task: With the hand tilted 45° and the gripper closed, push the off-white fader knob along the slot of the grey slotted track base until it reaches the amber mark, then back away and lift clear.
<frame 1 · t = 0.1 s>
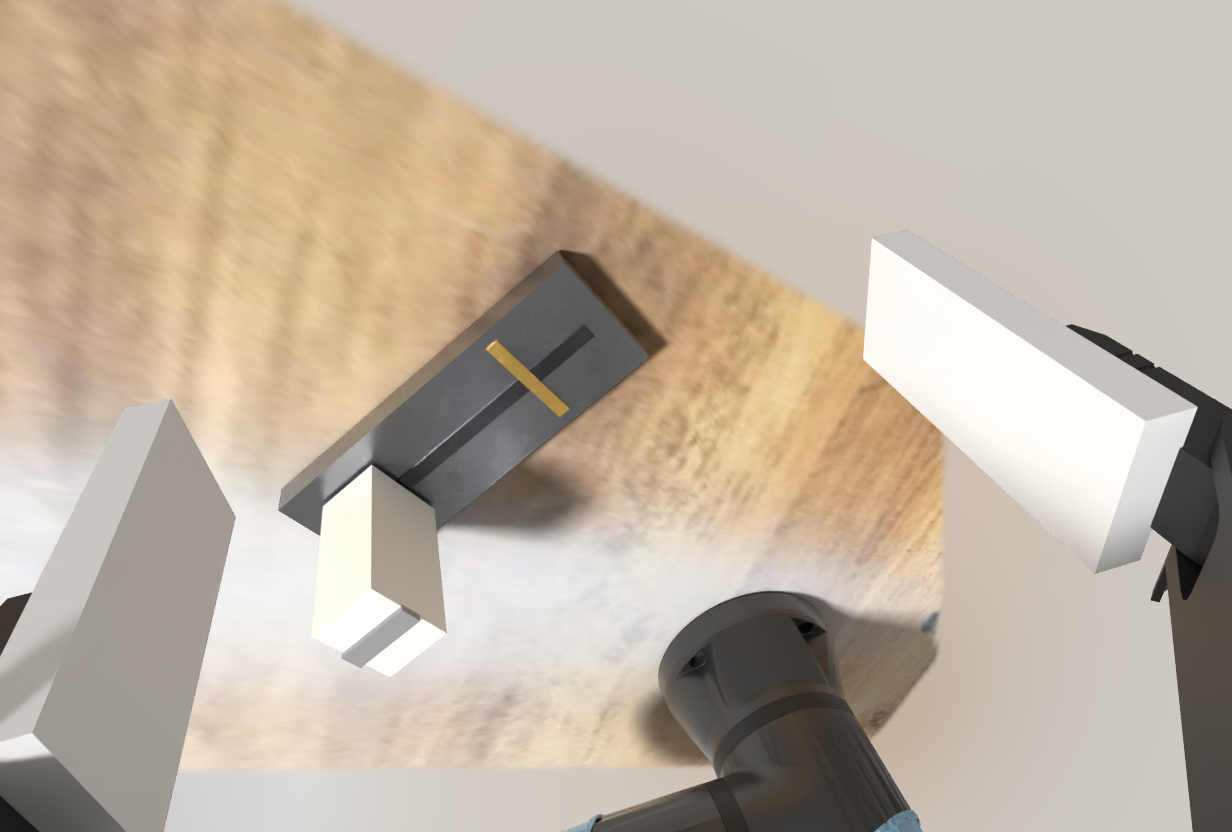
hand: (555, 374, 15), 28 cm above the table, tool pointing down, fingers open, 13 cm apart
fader: (380, 567, 42), point 7 cm above the table, slide at 0.0 cm
grey slotted track base: (462, 414, 47), on the table
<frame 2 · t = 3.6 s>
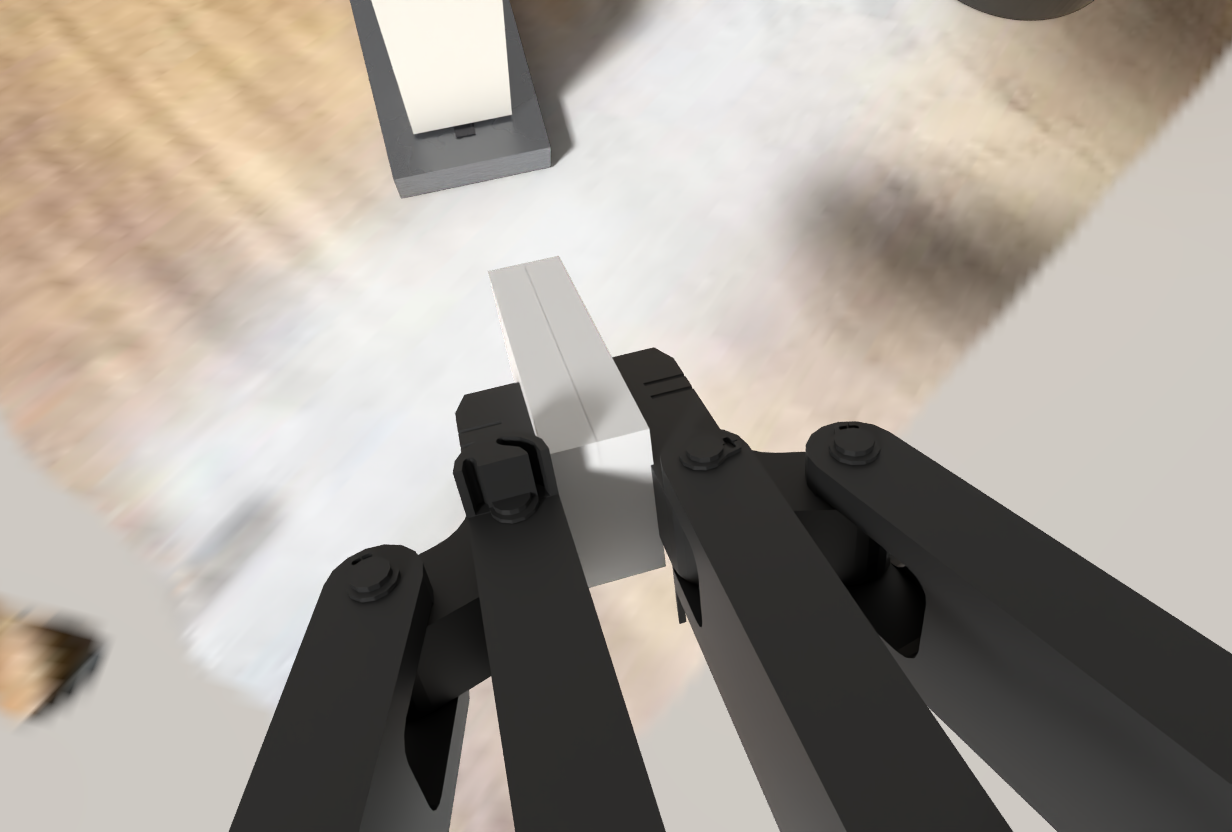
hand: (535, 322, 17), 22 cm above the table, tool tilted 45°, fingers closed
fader: (439, 19, 34), point 7 cm above the table, slide at 0.0 cm
grey slotted track base: (429, 1, 43), on the table
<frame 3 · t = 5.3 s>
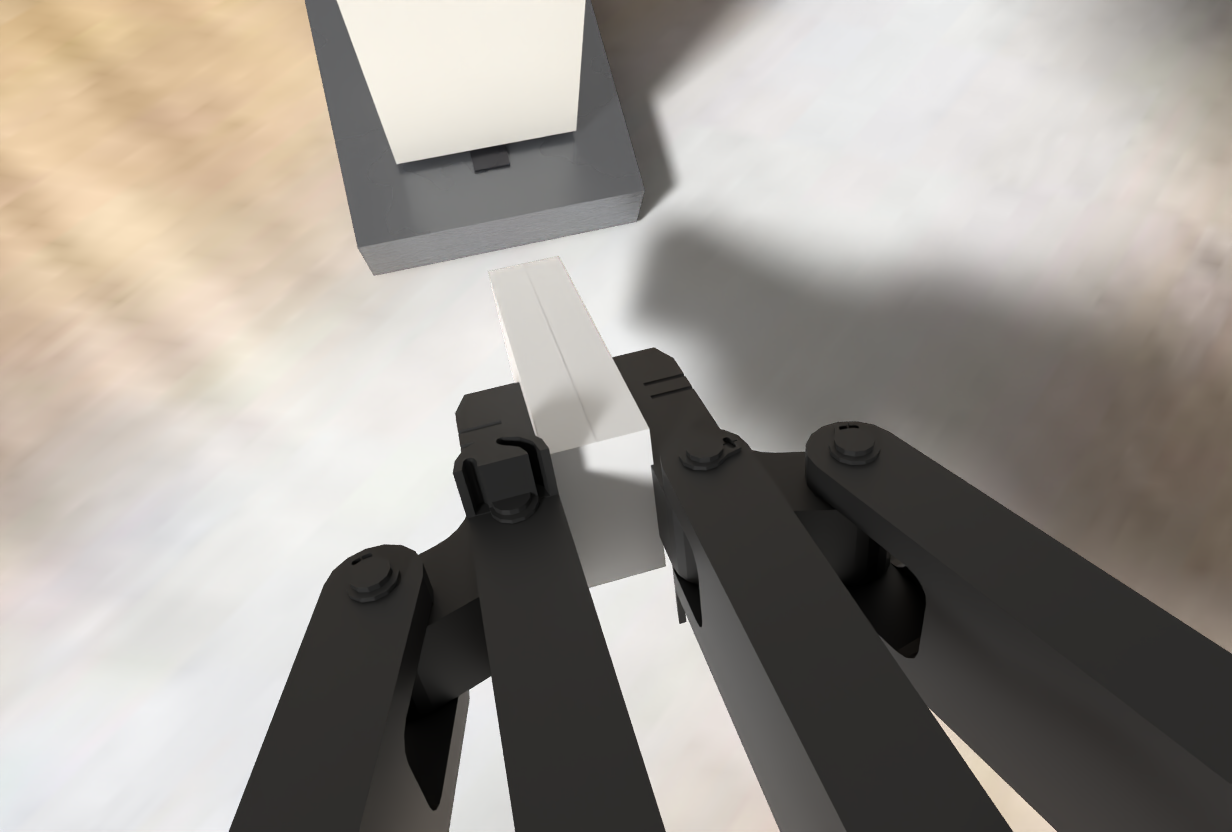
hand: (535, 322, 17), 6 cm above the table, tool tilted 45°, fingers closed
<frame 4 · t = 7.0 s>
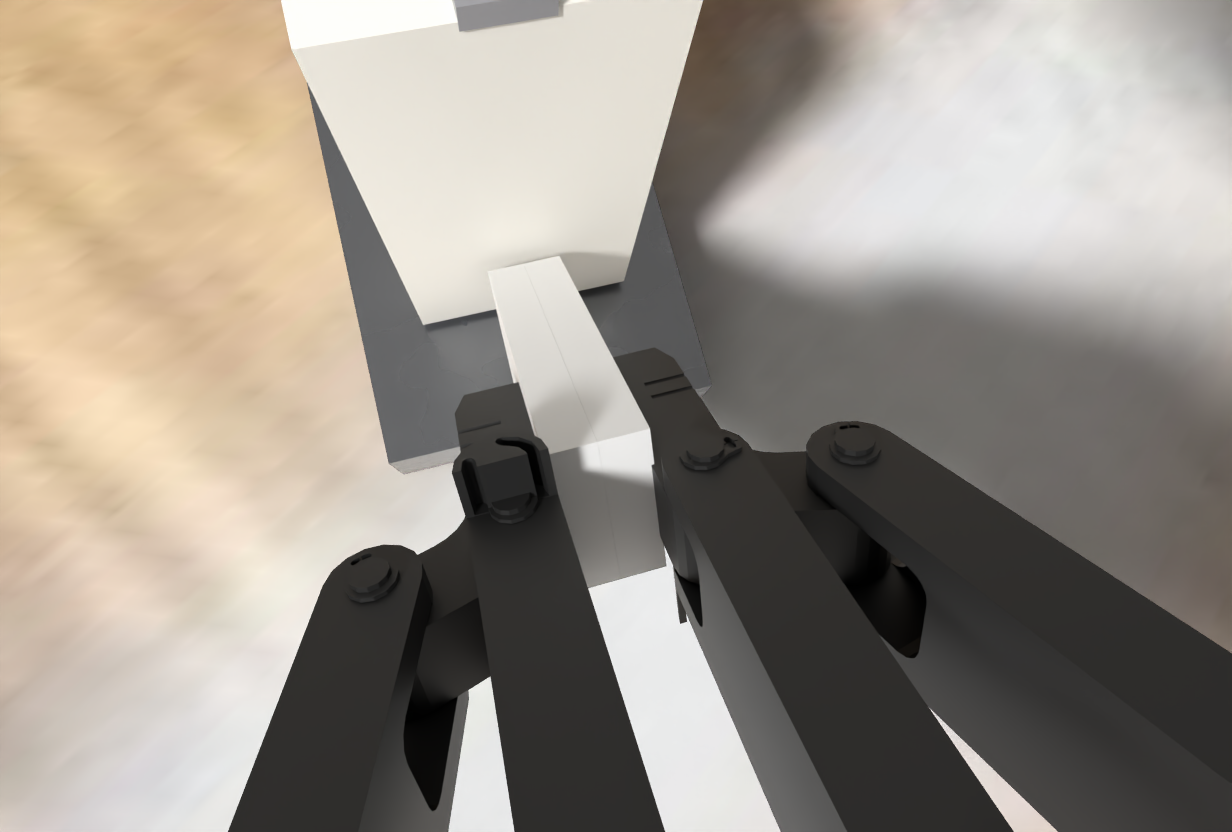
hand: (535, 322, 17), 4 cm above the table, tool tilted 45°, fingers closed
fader: (493, 105, 14), point 7 cm above the table, slide at 1.0 cm, touching gripper
grey slotted track base: (462, 74, 22), on the table
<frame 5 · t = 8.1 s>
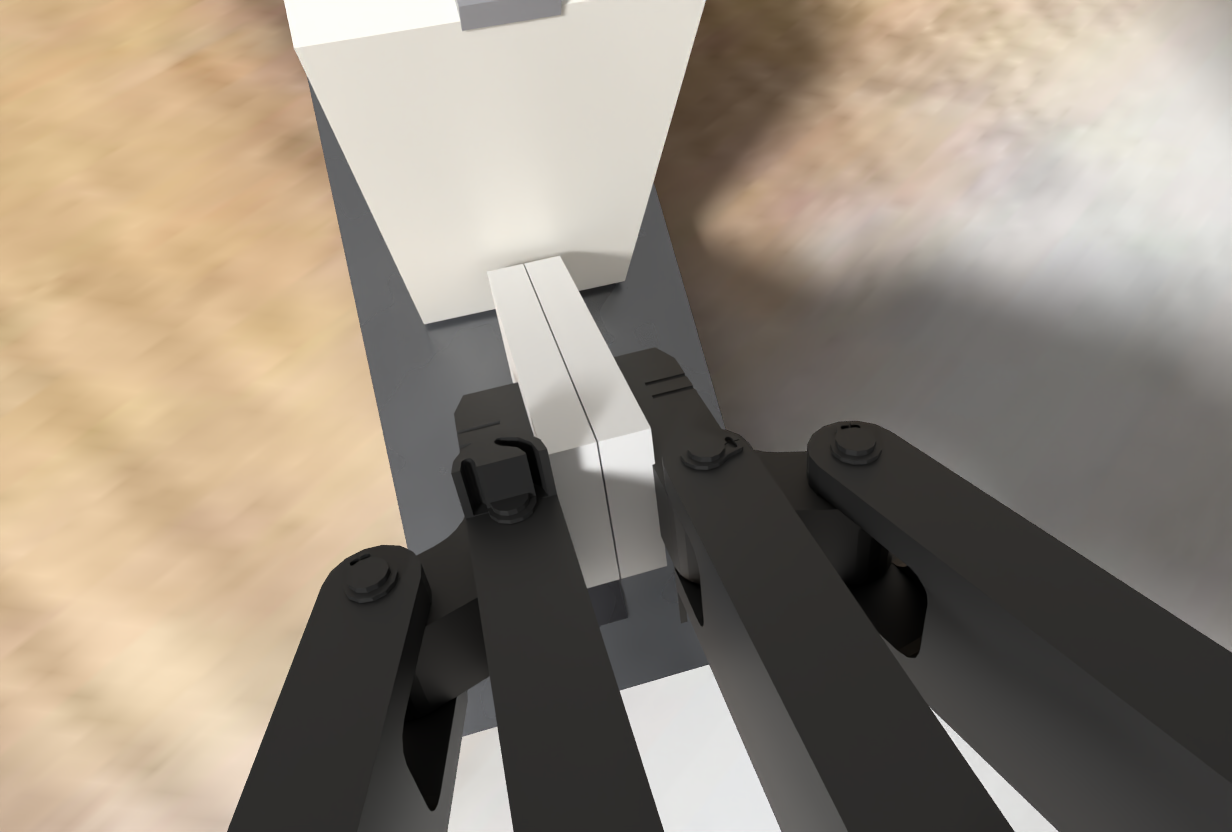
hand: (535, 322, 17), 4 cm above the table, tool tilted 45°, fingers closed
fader: (495, 105, 14), point 7 cm above the table, slide at 7.4 cm, touching gripper
grey slotted track base: (514, 275, 21), on the table
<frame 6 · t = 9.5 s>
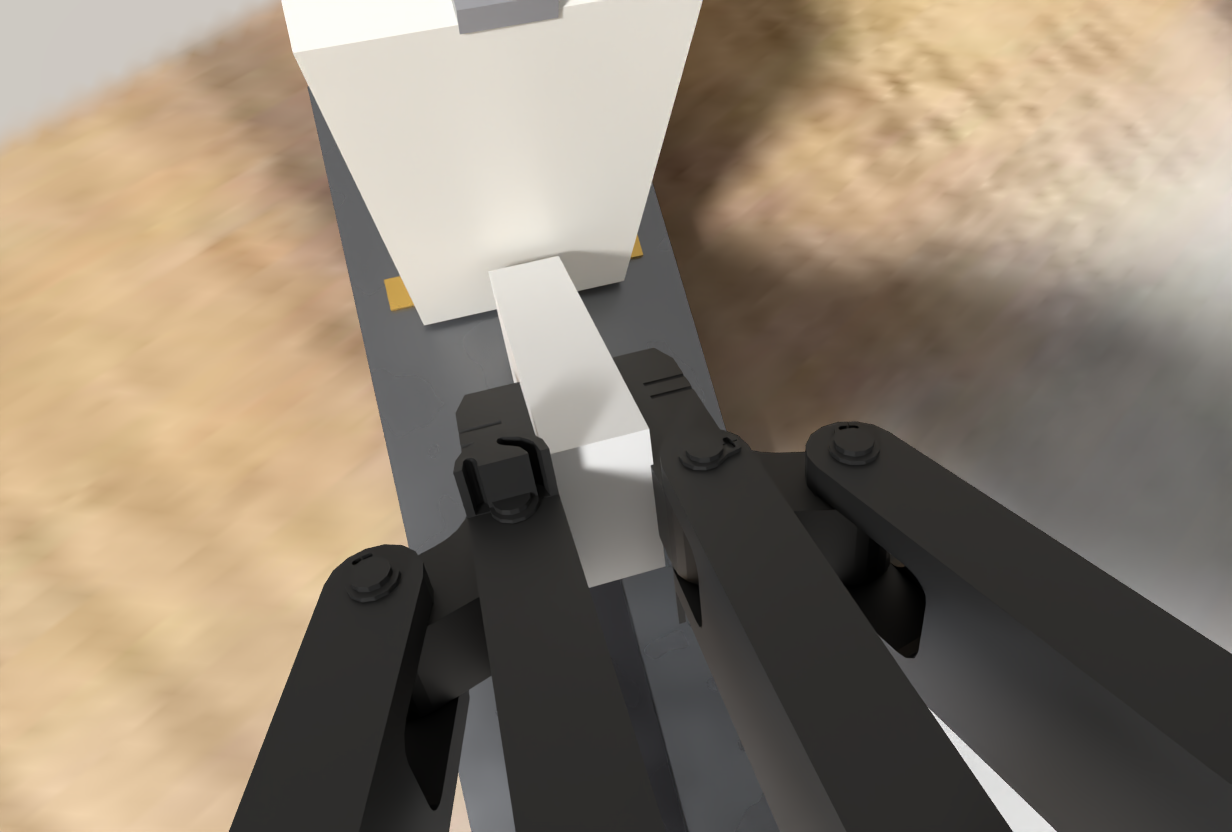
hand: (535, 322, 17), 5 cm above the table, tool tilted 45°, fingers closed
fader: (493, 106, 14), point 7 cm above the table, slide at 13.0 cm, touching gripper
grey slotted track base: (563, 471, 21), on the table
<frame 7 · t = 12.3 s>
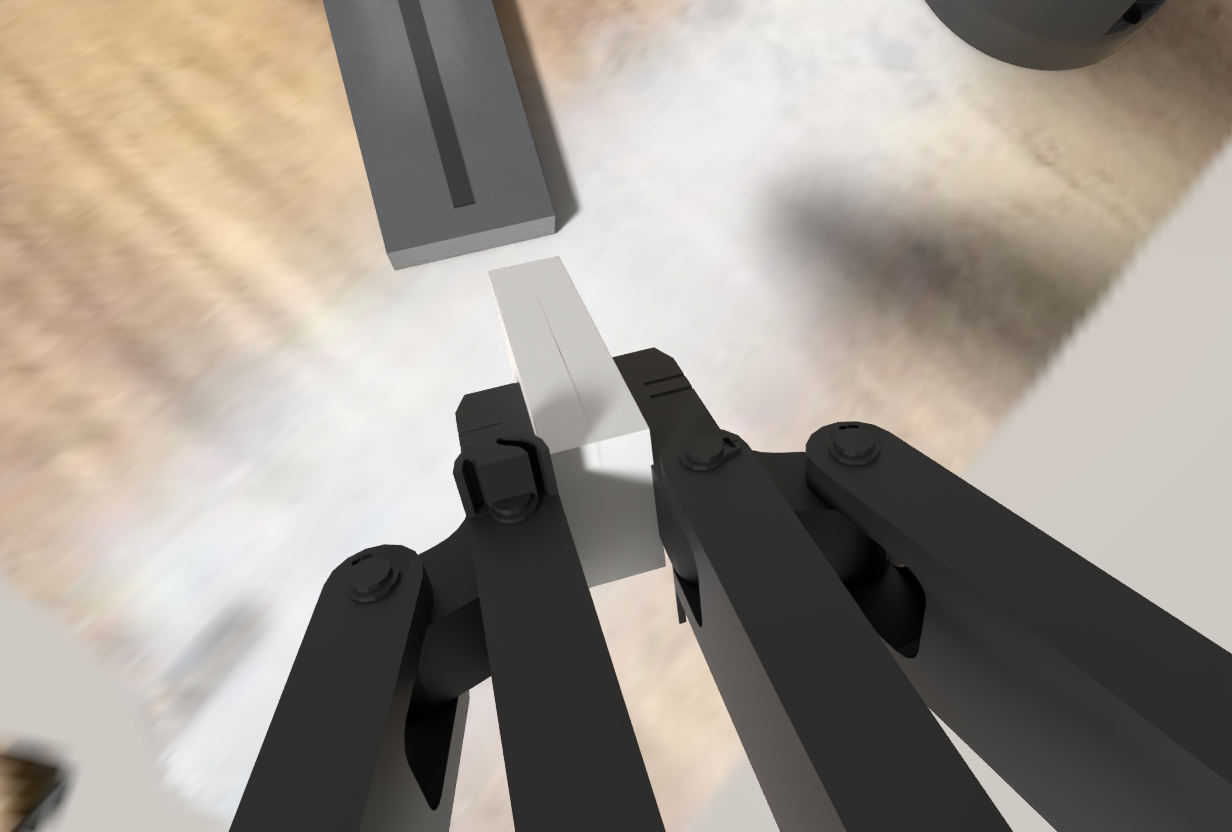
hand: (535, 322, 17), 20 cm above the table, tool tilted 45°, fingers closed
grey slotted track base: (422, 57, 40), on the table
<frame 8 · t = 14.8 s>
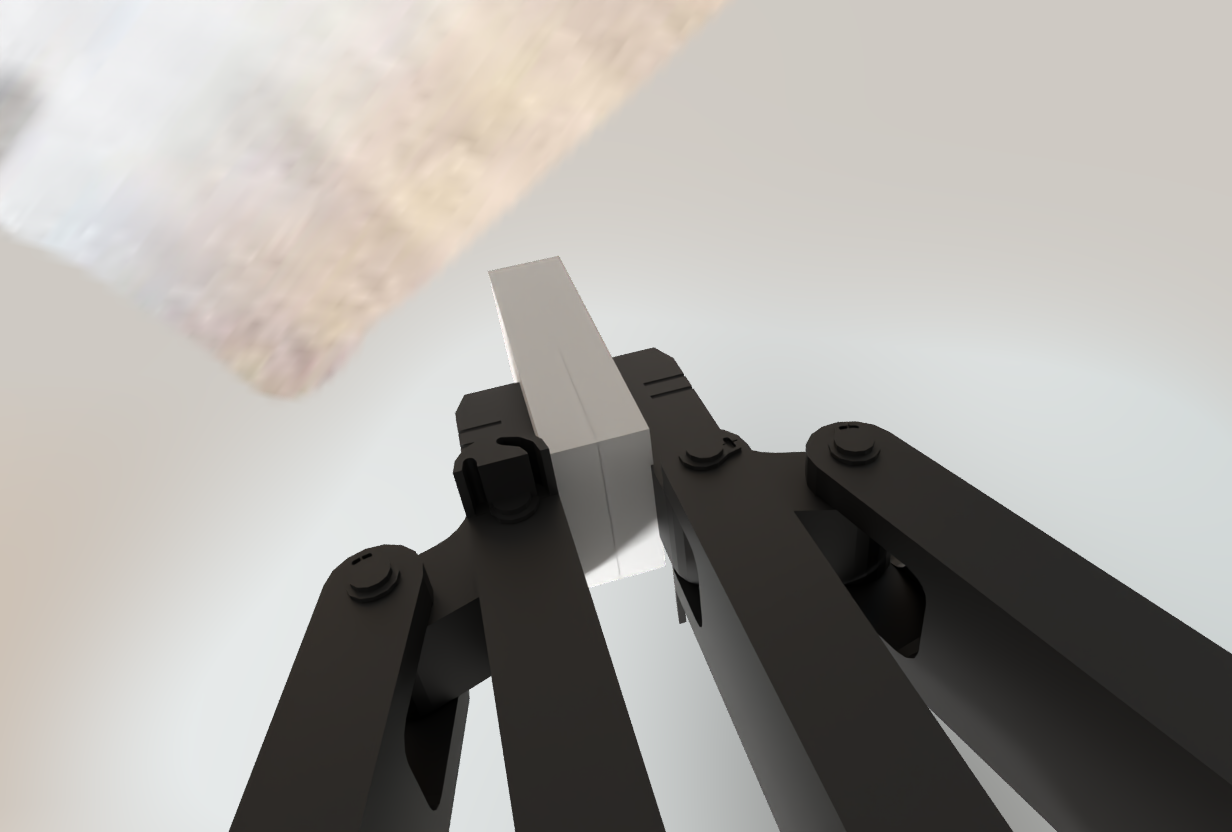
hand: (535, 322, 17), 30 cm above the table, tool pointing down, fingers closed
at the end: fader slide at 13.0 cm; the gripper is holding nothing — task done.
